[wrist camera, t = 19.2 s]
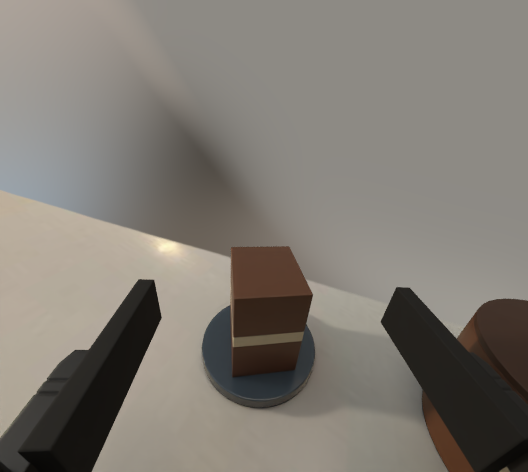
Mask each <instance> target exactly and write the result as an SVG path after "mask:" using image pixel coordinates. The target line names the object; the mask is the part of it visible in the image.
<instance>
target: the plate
mask: <svg viewBox="0 0 528 472" xmlns="http://www.w3.org/2000/svg"><path fill="white" fill-rule="evenodd" d="M202 355H203V363H204V368H205V371H206V374H207V376H208V378H209V379H210V381H211V383H212V384H213V385H214V387H215V388H216V389H217V390H218V391H219V392H220V393H221V394H222V395H224V396H225V397H227V398H228V399H230V400H232V401H234V402H236V403H238V404H241V405H244V406H249V407H259V408H264V407H271V406H275V405H278V404H281V403H283V402H285V401H287V400H289V399H291V398H292V397H293V396H295V395H296V394H297V393H298V392H299V391H300V390H301V389H302V388H303V386H304V385H305V384H306V382H307V380H308V378H309V376H310V373H311V370H312V367H313V364H314V358H315V347H314V341H313V337H312V335H311V332H310V330H309V328H308V327H307V325H306V326H305V330H304V334H303V339H302V343H301V347H300V352H299V356H298V360H297V364H296V368H295V370H291V371H283V372H274V373H265V374H257V375H248V376H239V377H232V354H231V322H230V306H228V307H226V308H224V309H223V310H222V311H220V312H219V313H218V314H217V315H216V316H215V317H214V318H213V319H212V321H211V322H210V324H209V325H208V327H207V329H206V331H205V334H204V338H203V343H202Z"/></svg>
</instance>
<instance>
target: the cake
mask: <svg viewBox="0 0 528 472" xmlns="http://www.w3.org/2000/svg"><path fill="white" fill-rule="evenodd" d="M457 340H458V341H459V342H460V343H461V344H462V345H463V346H464V347H465V349H466V350H467V351H468V352H474V353H475V354H476V355H478V356H479V357H480V358H482V359H483V360H484V361H486V362H487V363H488V364H489V365H490V366H491V367H492V368H493V369H494V370H495V371H496V372H497V373H498V374H499V375H500V376H501V379H502V380H505V381H506V383H507V384H508V385H509V386H510V387H511V388H512V390H513V391H515V392H516V393H517V394H518V395H519V396H520V397H521V398H522V399H523V400H524V401H525V402H526V403H527V404H528V301H525V300H518V299H496V300H492V301H488V302H486V303H484V304H483V305H482V306H481V307H480V308H479V309H478V310H477V312H476V313H475V314H474V316H473V317H472V318H471V320H470V321H469V323H468V324H467V325H466V327H465V328H464V329H463V331H462V332H461V333H460V335H459V336H458V338H457ZM422 404H423V412H424V416H425V421H426V424H427V427H428V430H429V433H430V435H431V438H432V440H433V442H434V444H435V447H436V449H437V451H438V453H439V455H440V456H441V458H442V460H443V462H444V464H445V466H446V467H447V469H448V470H449V472H474V470H473V469H472V467H471V465H470V464H469V462H468V461H467V459H466V457H465V456H464V454H463V453H462V451H461V449H460V448H459V446H458V445H457V443H456V441H455V440H454V438H453V437H452V435H451V433H450V432H449V430H448V429H447V427H446V425H445V424H444V422H443V421H442V419H441V417H440V416H439V414H438V413H437V411H436V409H435V408H434V406H433V405H432V403H431V402H430V400H429V398H428V397H427V395H426V394H425V392H424V390H423V393H422ZM499 472H510V471H509V469H508V468H507V467H505V468H503V469H502V470H500V471H499Z"/></svg>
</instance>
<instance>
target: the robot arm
mask: <svg viewBox="0 0 528 472" xmlns="http://www.w3.org/2000/svg"><path fill="white" fill-rule="evenodd" d="M161 318H162V317H161V312H160V307H159V302H158V297H157V292H156V287H155V282H154V280H142V279H139V280H138V281H137V282H136V284H135V285H134V287H133V288H132V290H131V291H130V292H129V294H128V295H127V297H126V298H125V299H124V301H123V302H122V304H121V305H120V307H119V308H118V309H117V311H116V312H115V314H114V315H113V317H112V318H111V319H110V321H109V322H108V324H107V325H106V326H105V328H104V329H103V331H102V332H101V334H100V335H99V336H98V338H97V339H96V341H95V342H94V343H93V345H92V346H91V348H90V349H89V350H75V351H73V352H72V353H71V354H70V355H68V356H67V357H66V358H65V359H64V360H62V361H61V362H60V363H59V364H58V365H57V367H56V368H55V369H54V370H53V372H52V373H51V374H50V375H49V377H48V378H47V381H45V382H44V383H43V384H42V386H41V387H40V388H39V389H38V391H37V394H36V395H34V396H33V397H32V398H31V400H30V401H29V402H28V403H27V405H26V406H25V407H24V408H23V410H22V411H21V412H20V414H19V415H18V416H17V417H16V419H15V420H14V421H13V422H12V424H11V425H10V426H9V428H8V429H7V430H6V431H5V433H4V434H3V435H2V436H1V438H0V472H92V470H93V467H94V465H95V463H96V461H97V459H98V456H99V454H100V452H101V450H102V448H103V445H104V443H105V441H106V439H107V437H108V434H109V432H110V430H111V428H112V426H113V423H114V421H115V419H116V417H117V415H118V412H119V410H120V408H121V406H122V404H123V401H124V399H125V397H126V395H127V393H128V390H129V388H130V386H131V384H132V382H133V379H134V377H135V375H136V373H137V371H138V368H139V366H140V364H141V362H142V360H143V358H144V355H145V353H146V351H147V349H148V347H149V344H150V342H151V340H152V338H153V336H154V333H155V331H156V329H157V327H158V325H159V322H160V320H161ZM381 323H382V325H383V326H384V328H385V330H386V331H387V333H388V334H389V336H390V338H391V339H392V341H393V342H394V344H395V346H396V347H397V349H398V350H399V352H400V354H401V355H402V357H403V358H404V360H405V362H406V363H407V365H408V366H409V368H410V370H411V371H412V373H413V374H414V376H415V378H416V379H417V381H418V382H419V384H420V386H421V387H422V389H423V390H424V392H425V394H426V395H427V397H428V398H429V400H430V402H431V403H432V405H433V406H434V408H435V409H436V411H437V413H438V414H439V416H440V417H441V419H442V421H443V422H444V424H445V425H446V427H447V429H448V430H449V432H450V433H451V435H452V437H453V438H454V440H455V441H456V443H457V445H458V446H459V448H460V449H461V451H462V453H463V454H464V456H465V457H466V459H467V461H468V462H469V464H470V465H471V467H472V469H473V470H474V472H499V471H500V470H502V469H503V468H505V467H507V468H508V469H509V471H510V472H528V404H527V403H526V402H525V401H524V400H523V399H522V398H521V397H520V396H519V395H518V394H517V393H516V392H515V391H513V390H512V388H511V387H510V386H509V385H508V384H507V383H506V381H505V380H502V379H501V376H500V375H499V374H498V373H497V372H496V371H495V370H494V369H493V368H492V367H491V366H490V365H489V364H488V363H487V362H486V361H484V360H483V359H482V358H480V357H479V356H478V355H476V354H475V353H474V352H468V351H467V350H466V349H465V347H464V346H463V345H462V344H461V343H460V342H459V341H458V340H457V339H456V338H455V337H454V336H453V334H452V333H451V332H450V331H449V330H448V329H447V328H446V327H445V326H444V325H443V324H442V323H441V321H440V320H439V319H438V318H437V317H436V316H435V315H434V314H433V313H432V312H431V311H430V309H429V308H427V306H426V305H425V304H424V303H423V302H422V301H421V300H420V299H419V298H418V296H417V295H416V294H415V293H414V292H413V291H412V290H411V289H410V288H401V287H397V288H396V290H395V292H394V294H393V296H392V298H391V300H390V303H389V305H388V307H387V309H386V311H385V313H384V316H383V318H382V320H381Z"/></svg>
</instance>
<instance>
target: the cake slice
mask: <svg viewBox="0 0 528 472" xmlns="http://www.w3.org/2000/svg"><path fill="white" fill-rule="evenodd" d="M312 297H313V294H312V292H311V290H310V288H309V286H308V284H307V282H306V280H305V278H304V276H303V274H302V272H301V270H300V268H299V265H298V263H297V262H296V259H295V257H294V255H293V254H292V252H291V249H290V247H232V248H231V299H230V322H231V354H232V377H239V376H248V375H257V374H265V373H274V372H283V371H291V370H295V368H296V364H297V360H298V356H299V352H300V347H301V343H302V339H303V334H304V330H305V326H306V322H307V318H308V313H309V309H310V305H311V301H312Z"/></svg>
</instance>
